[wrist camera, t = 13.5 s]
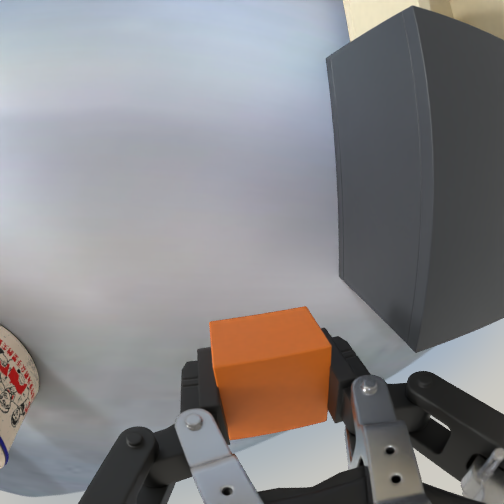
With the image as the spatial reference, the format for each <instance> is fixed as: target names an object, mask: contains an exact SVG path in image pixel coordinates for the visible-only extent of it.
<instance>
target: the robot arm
mask: <svg viewBox="0 0 504 504" xmlns="http://www.w3.org/2000/svg"><path fill="white" fill-rule="evenodd" d="M321 330H322V332H323V333H324V335H325V336H326V338H327V339H328V341H329V343H330V344H331V346H332V350H331V366H330V376H329V391H328V405H327V408H328V410H329V412H330V414H331V416H332V418H333V420H334V422H335V423H338V422H341V421H343V422H344V423H345V425H346V426H345V440H346V449H347V457H348V470H347V471H344V472H341V473H338V474H336V475H335V476H333V477H331V478H329V479H327V480H325V481H323V482H321V483H319V484H318V485H315V486H313V487H307V488H276V489H271V490H266V491H260V492H257V491H256V489H255V487H254V486H253V484H252V482H251V481H250V479H249V477H248V476H247V474H246V472H245V470H244V469H243V467H242V465H241V463H240V462H239V460H238V458H237V457H236V455H235V454H232V452H231V451H230V449H229V447H228V445H230V441H229V434H228V427H227V423H226V418H225V414H224V410H223V406H222V401H221V397H220V392H219V388H218V387H217V385H216V380H215V375H214V371H213V364H212V352H211V347H208V348H201V349H198V350H197V353H198V361H190V362H187V363H186V364H185V366H184V368H183V369H182V380H181V413H180V415H178V417H177V418H176V420H175V424H173V425H172V426H171V427H169V428H167V429H164V430H161V431H158V432H155V433H153V432H152V431H151V430H149V429H148V428H145V427H132V428H129V429H127V430H125V431H123V432H122V433H121V434H120V436H119V437H118V439H117V440H116V442H115V444H114V445H113V447H112V448H111V450H110V452H109V453H108V455H107V457H106V458H105V460H104V462H103V463H102V465H101V467H100V468H99V470H98V471H97V473H96V475H95V476H94V478H93V480H92V481H91V483H90V485H89V486H88V488H87V490H86V491H85V493H84V495H83V496H82V498H81V500H80V501H79V503H78V504H167V502H168V500H169V497H170V495H171V493H172V490H173V488H174V485H175V483H176V482H178V481H181V480H183V479H187V478H189V477H192V476H193V478H194V481H195V483H196V485H197V488H198V490H199V493H200V495H201V497H202V499H203V502H204V504H504V414H502V413H500V412H499V411H497V410H495V409H493V408H491V407H490V406H488V405H486V404H485V403H483V402H481V401H479V400H478V399H476V398H474V397H473V396H471V395H469V394H467V393H466V392H464V391H462V390H461V389H459V388H457V387H456V386H454V385H452V384H450V383H448V382H447V381H445V380H444V379H442V378H440V377H438V376H437V375H435V374H433V373H431V372H427V371H419V372H415V373H413V374H412V375H411V376H410V377H409V378H408V381H407V383H400V384H387V383H386V382H385V381H384V380H383V379H382V378H380V377H378V376H375V375H371V374H370V373H369V372H368V370H367V369H366V367H365V366H364V365H363V363H362V362H361V360H360V359H359V358H358V356H356V353H355V352H354V351H353V350H352V348H351V346H350V345H349V344H348V342H347V341H345V340H344V339H342V338H340V337H339V336H337V337H331V336H330V334H329V333H328V331H327V330H326V329H325V328H321ZM430 415H432V416H433V417H435V418H436V419H438V420H440V421H441V422H442V423H444V424H445V425H447V426H448V427H449V429H450V431H449V430H448V429H446V428H445V427H443V426H442V425H440V424H439V423H437V422H436V421H434V420H433V419H431V418H430ZM413 448H415V449H416V450H417V451H419V452H420V453H421V454H423V455H424V456H425V457H427V458H428V459H430V460H431V461H432V462H434V463H435V464H436V465H438V466H439V467H441V468H442V469H443V470H445V471H446V472H447V473H449V474H450V475H452V476H453V477H455V478H456V479H457V480H459V481H460V482H461V487H462V490H463V496H464V497H463V496H460V495H457V494H454V493H451V492H447V491H445V490H442V489H439V488H436V487H433V486H431V485H428V484H425V483H422V480H421V476H420V473H419V469H418V465H417V461H416V457H415V454H414V450H413Z"/></svg>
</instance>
